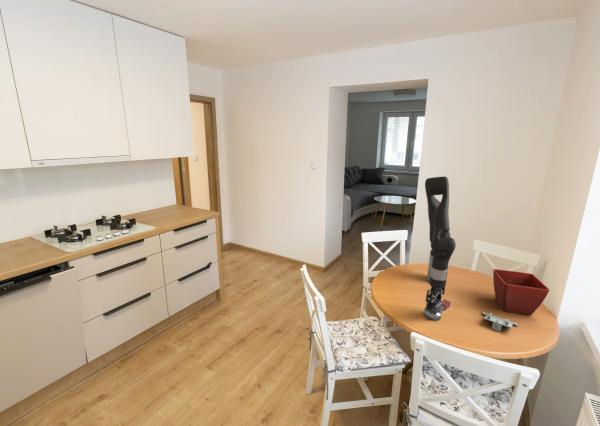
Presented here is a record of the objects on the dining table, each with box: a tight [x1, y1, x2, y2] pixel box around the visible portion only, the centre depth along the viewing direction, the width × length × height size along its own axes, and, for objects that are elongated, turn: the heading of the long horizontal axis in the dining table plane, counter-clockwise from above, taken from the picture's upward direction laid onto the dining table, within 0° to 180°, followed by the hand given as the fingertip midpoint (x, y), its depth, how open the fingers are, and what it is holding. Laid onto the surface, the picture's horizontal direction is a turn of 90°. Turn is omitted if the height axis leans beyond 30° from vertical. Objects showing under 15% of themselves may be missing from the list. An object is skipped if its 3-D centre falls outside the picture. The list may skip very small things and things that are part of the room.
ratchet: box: [423, 299, 452, 322], centre depth 153 cm, size 20×8×6 cm, turn 129°
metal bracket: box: [481, 311, 519, 332], centre depth 145 cm, size 14×6×15 cm
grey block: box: [425, 298, 443, 315], centre depth 148 cm, size 5×5×6 cm
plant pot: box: [492, 268, 550, 316], centre depth 157 cm, size 19×19×17 cm
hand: (433, 305), depth 149 cm, fingers open, 8 cm apart
